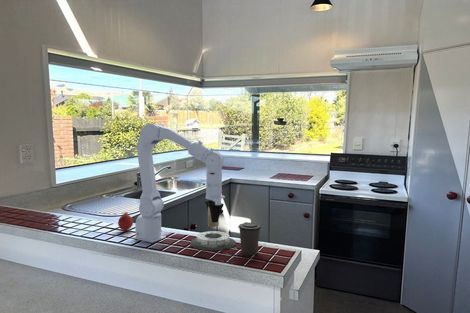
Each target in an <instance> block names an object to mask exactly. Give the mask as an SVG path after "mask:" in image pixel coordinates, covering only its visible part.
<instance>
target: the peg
mask: <svg viewBox="0 0 470 313" xmlns="http://www.w3.org/2000/svg"><path fill="white" fill-rule="evenodd" d="M207 226H208V227H210V228H211V227H212V228H216V227H219V226H220V219H219V220H218V222H215V223H212V220H211V213H210V209H209V207H208V210H207Z"/></svg>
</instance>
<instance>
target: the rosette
mask: <svg viewBox="0 0 470 313" xmlns="http://www.w3.org/2000/svg"><path fill="white" fill-rule="evenodd" d="M236 245H237V242H236V240H235V239H233V238H231V237H230V234H228V233H227V232H223V231H219V230H217V231H215V230H214V231H213V230H211V231H209V230H208V231H203V232H200V233H198V234H196V238H193V239H192V240H190V247H192V248H194V249H197V250H201V251H207V252H208V251H210V252H214V251H215V252H216V251H217V252H218V251H225V250H229V249H232V248H234V247H236Z"/></svg>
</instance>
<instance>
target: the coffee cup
mask: <svg viewBox="0 0 470 313" xmlns="http://www.w3.org/2000/svg"><path fill="white" fill-rule="evenodd" d="M237 228H238V229H239V239H240V249H241V254H243V255H245V256H255V255H257V254H258V250H259V249H258V248H259V243H260V242H259V241H260V236H261V235H260V234H261V229H262V225H261V224H258V223H255V222H248V221H245V222H243V223H240V224H239V225H238V226H237Z"/></svg>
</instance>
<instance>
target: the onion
mask: <svg viewBox="0 0 470 313" xmlns="http://www.w3.org/2000/svg"><path fill="white" fill-rule="evenodd" d="M133 224H134V220H133V218H132V217H131V215H129V214H128V211H127V212H126V211H125V212H124V213H123V215H121V216H120V217H119V219H118V220H117V225H118V228H119V229H121V231H123V232H127V231H129V230H130V229H131V228H132V227H133Z"/></svg>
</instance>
